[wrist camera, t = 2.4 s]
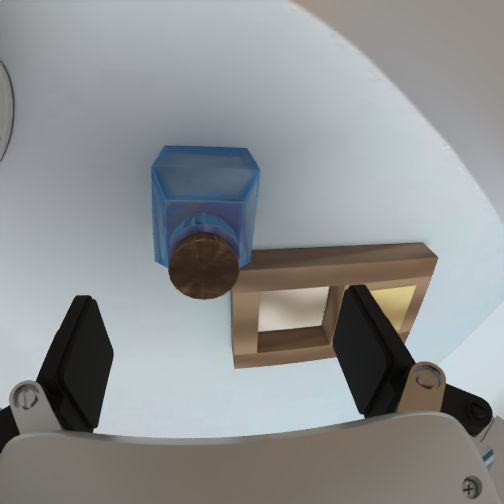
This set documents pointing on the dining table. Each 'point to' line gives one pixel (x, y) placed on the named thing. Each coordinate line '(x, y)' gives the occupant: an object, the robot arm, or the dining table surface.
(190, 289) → the perfume bottle
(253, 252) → the frame
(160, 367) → the dining table surface
